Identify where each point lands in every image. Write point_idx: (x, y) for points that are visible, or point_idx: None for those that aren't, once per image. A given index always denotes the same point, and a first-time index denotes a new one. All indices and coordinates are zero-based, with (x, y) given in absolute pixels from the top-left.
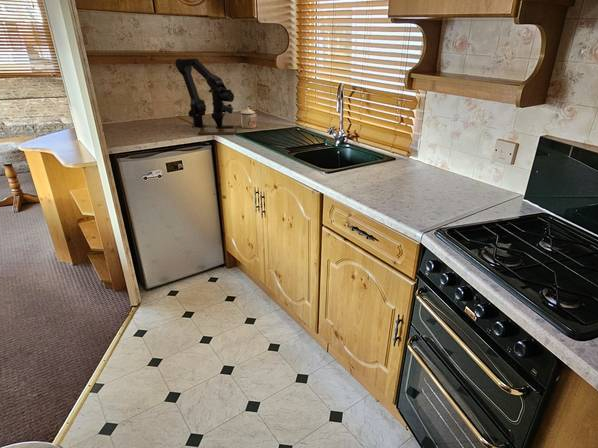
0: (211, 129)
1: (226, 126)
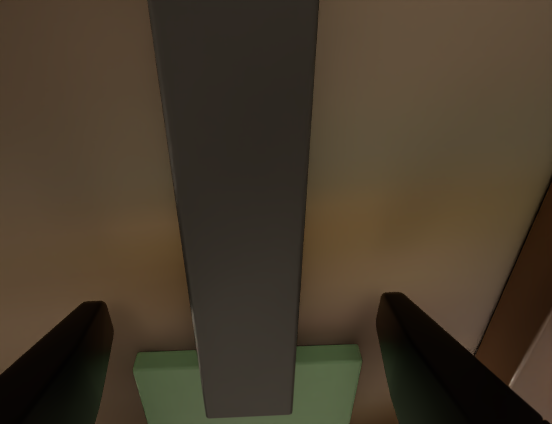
0: None
1: (303, 172)
